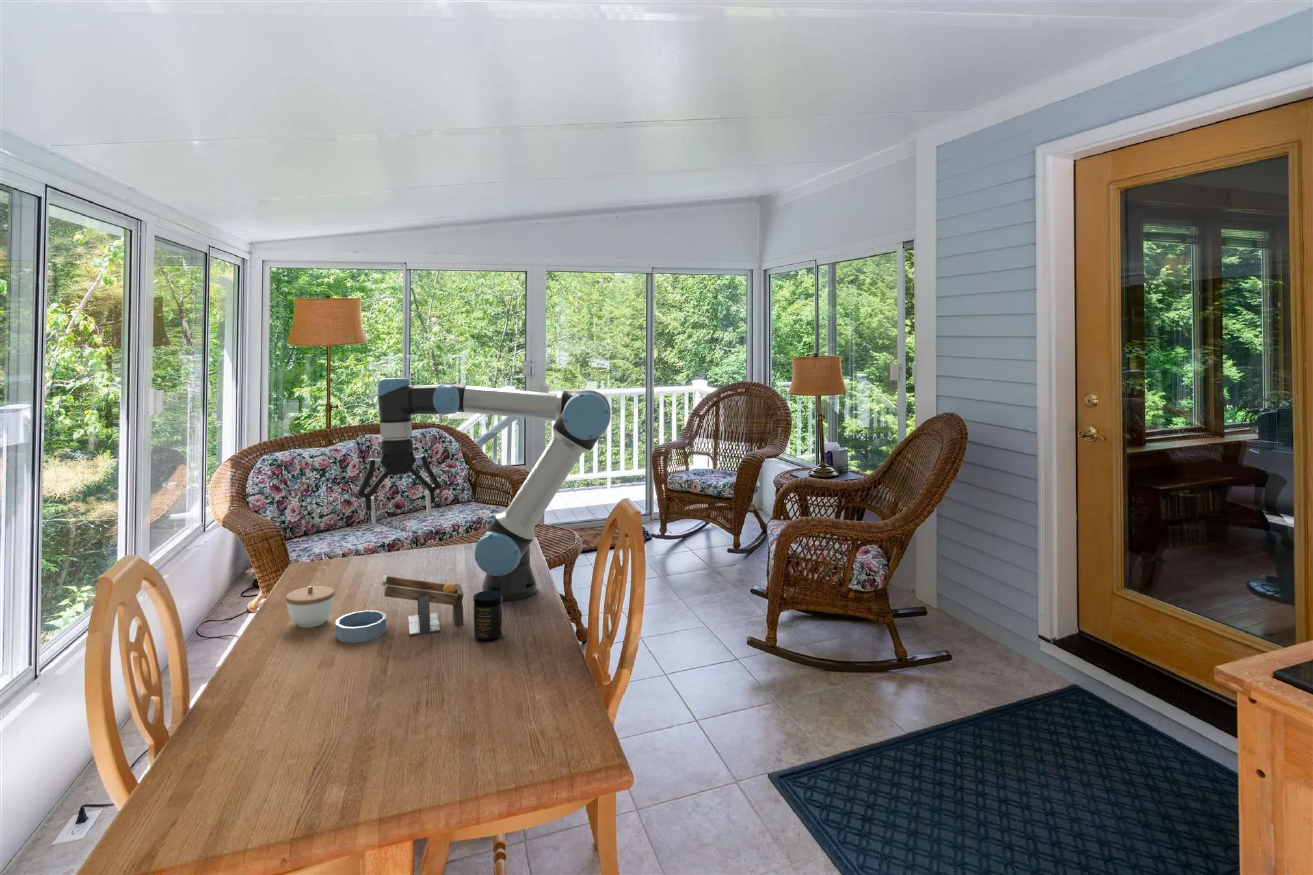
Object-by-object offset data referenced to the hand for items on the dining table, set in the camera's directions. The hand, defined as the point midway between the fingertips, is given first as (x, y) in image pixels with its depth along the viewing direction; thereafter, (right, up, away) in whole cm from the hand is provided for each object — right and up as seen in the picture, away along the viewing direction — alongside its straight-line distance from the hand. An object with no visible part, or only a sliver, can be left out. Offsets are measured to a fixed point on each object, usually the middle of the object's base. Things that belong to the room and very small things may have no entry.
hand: (401, 519), depth 173 cm
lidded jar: (-20, -25, -7) cm, 33 cm away
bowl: (-5, -26, -12) cm, 29 cm away
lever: (+7, -18, -6) cm, 20 cm away
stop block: (+16, -25, -4) cm, 30 cm away
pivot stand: (+8, -25, -7) cm, 28 cm away
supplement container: (+26, -27, -14) cm, 40 cm away
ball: (+14, -17, -6) cm, 23 cm away
